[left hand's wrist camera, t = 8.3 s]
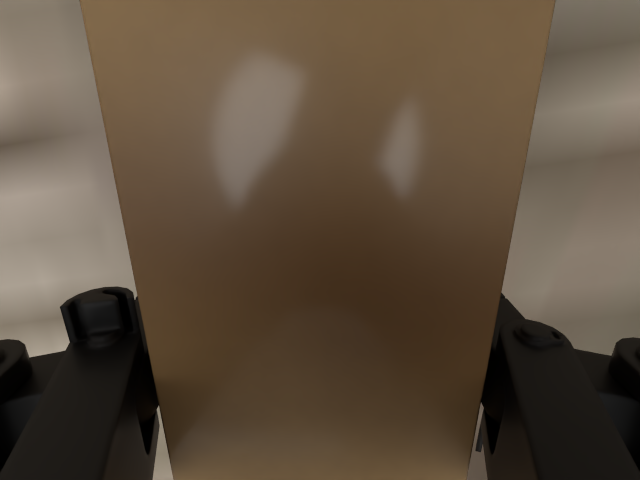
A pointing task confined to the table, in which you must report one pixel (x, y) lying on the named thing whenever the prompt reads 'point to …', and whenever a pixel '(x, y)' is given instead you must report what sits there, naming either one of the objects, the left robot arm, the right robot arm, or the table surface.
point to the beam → (318, 220)
